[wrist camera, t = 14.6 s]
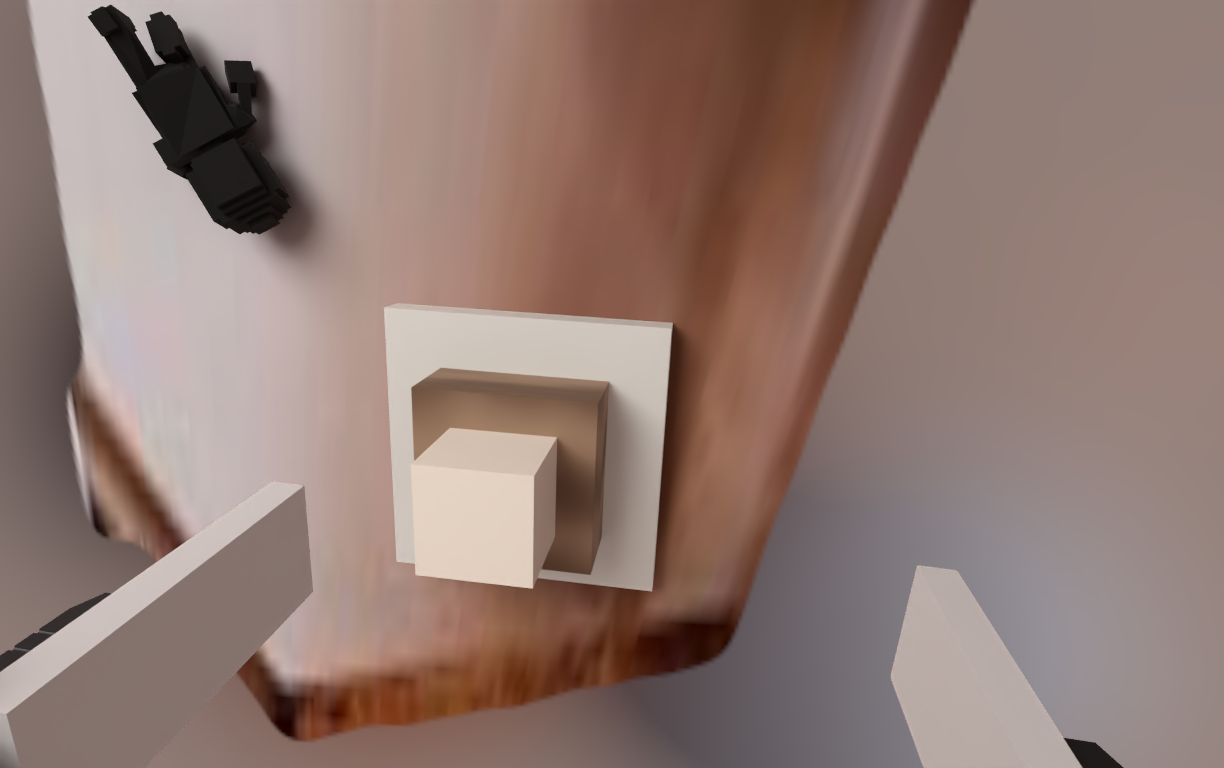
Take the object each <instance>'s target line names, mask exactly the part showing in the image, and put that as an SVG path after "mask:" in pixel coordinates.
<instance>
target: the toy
mask: <svg viewBox="0 0 1224 768" xmlns="http://www.w3.org/2000/svg"><path fill="white" fill-rule="evenodd" d="M91 14H92V15H90V16H88V18H89V19H90V21H91V22H92V23H93V25H94V26H95V27H96V29H97V30H98V31H99V33H100V34H101V35H102V36H104V37H105V39H106V41H107V42H108V44H109V45H110V47H111V48H112V50H113V51H114V53H115V55H116V56H117V58H118V59H119V61H120V62H121V64H122V65H123V67H124V69H125V70H126V72H127V73H128V75H129V76H130V78H131V79H132V81H133V83H134V84H135V86H136V89H137V91H136V92H133V93H132V94H133V96H134V97H135V98H136V100H137V101H138V103H139V104H140V106H141V107H142V109H143V110H144V112H145V113H146V115H147V116H148V118H149V119H150V120H151V122H152V123H153V125H154V126H155V128H156V129H157V131H158V132H159V134H160V135H161V137H162V139H161V140H159V141H157V142H155V143H153V145H154V146H155V148H156V150H157V151H158V153H159V154H160V156H161V158H162V159H163V161H164V163H165V164H166V166H168V167H167V169H168V170H170V171H172V172H174V173H175V174H177V175H179V176H181V177H183V178H185V179H187V180H189V182H190V184H191V185H192V187H193V188H194V190H195V192H196V193H197V195H198V197H199V198H200V200H201V201H202V203H203V205H204V206H205V208H206V210H207V211H208V213H209V214H210V216H211V218H212V219H213V221H214V222H216V223H217V224H219V225H221V226H222V227H224V228H226V229H228V228H230V229H232V230H234V231H235V232H237V233H239V234H241V233H243V232H247V233H248V232H251V233H253V234H254V233H258V234H261V233H263V232H265V231H267V230H269V229H271V228H273V227H275V226H276V225H278V224H280V223H279V220H281V219H283V218H284V217H283V214H285V213H287V212H288V211H287V210H288V209H289V208H291V206H290V205H289V203H288V201H287V200H286V198H288V197H290V196H289V195H288V193H287V191H286V190H285V188H284V187H283V186H282V185H281V183H280V181H279V180H278V178H277V176H276V175H275V173H274V171H273V170H272V168H271V167H270V165H269V163H268V162H267V160H266V159H265V158H264V157H263V156H262V155H261V153H260V151H259V150H258V148H257V146H256V145H255V144H254V143H253V142H252V141H250V142H248V143H246V144H245V145H243V146H241V144H240V143H239V142H238V141H237V140H236V139H237V138H239V137H240V136H242V135H244V134H246V133H245V131H246V130H247V129H248V128H249V127H250V126H251V125H253V124H254V123H255V122H256V121H257V120H256V118H255V117H254V116H253V115H252V110H251V97H257V93H256V79H255V75H254V71H253V68H252V64H251V61H226V60H224V63H225V73H226V77H227V81H228V85H229V88H230V92H231V93H238V98H239V104H240V105H239V104H238V103H236V102H234V103H232V104H230V103H229V102H228V100H227V99H226V97H225V96H224V94H223V93H222V91H221V90H220V88H219V87H218V85H217V84H216V82H215V81H214V79H213V78H212V76H211V75H210V73H209V72H208V70H207V69H206V67H205V66H203V67H200V68H199V67H198V65H197V63H196V61H195V59H194V58H193V56H192V54H191V52H190V50H189V48H188V46H187V44H186V42H185V40H184V37H183V34H182V32H181V30H180V29H179V28H178V26H177V23H176V22H175V21H174V19H173V18H172V17H171V16H170V15H166V16H165V15H164V14H163V12H162V11H161V12H158V13H155V14H152V15H150V18H151V21H147V22H146V25H147V28H148V31H149V34H150V37H151V40H152V43H153V46H154V49H155V52H156V53H157V54H158V55H159V56H160V57H161V59H162V60H163V61H164V62H165V63H166V64H162V65H157V66H155V65H154V64H153V62H152V60H151V59H150V57H149V55H148V54H147V52H146V50H145V49H144V47H143V45H142V44H141V42H140V41H139V39H138V37H137V36H136V34H135V31H137V30H136V29H135V26H134V24H133V23H132V21H131V20H130V18H129V17H128V16H126V15H125V14H123V13H122V12H121V11H119V10H118V9H116V8H115V7H113V6H112V5H109V6H107V7H103V6H102V7H100V8H98V9H96V10H94V11H92V12H91Z"/></svg>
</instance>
